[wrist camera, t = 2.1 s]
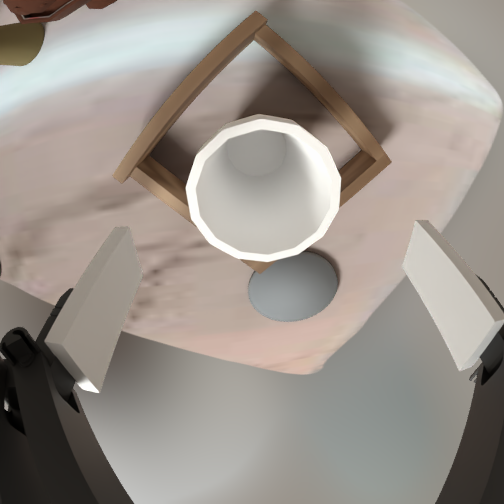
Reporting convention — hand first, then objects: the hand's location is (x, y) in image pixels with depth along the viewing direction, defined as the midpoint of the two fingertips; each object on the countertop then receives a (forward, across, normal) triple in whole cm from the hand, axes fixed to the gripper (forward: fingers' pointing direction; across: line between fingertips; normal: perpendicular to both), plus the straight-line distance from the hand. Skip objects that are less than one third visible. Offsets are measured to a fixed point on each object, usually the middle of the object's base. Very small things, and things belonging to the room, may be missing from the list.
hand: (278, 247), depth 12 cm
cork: (+18, -27, +18) cm, 37 cm away
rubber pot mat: (+18, +4, -19) cm, 27 cm away
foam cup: (+19, 0, 0) cm, 19 cm away
